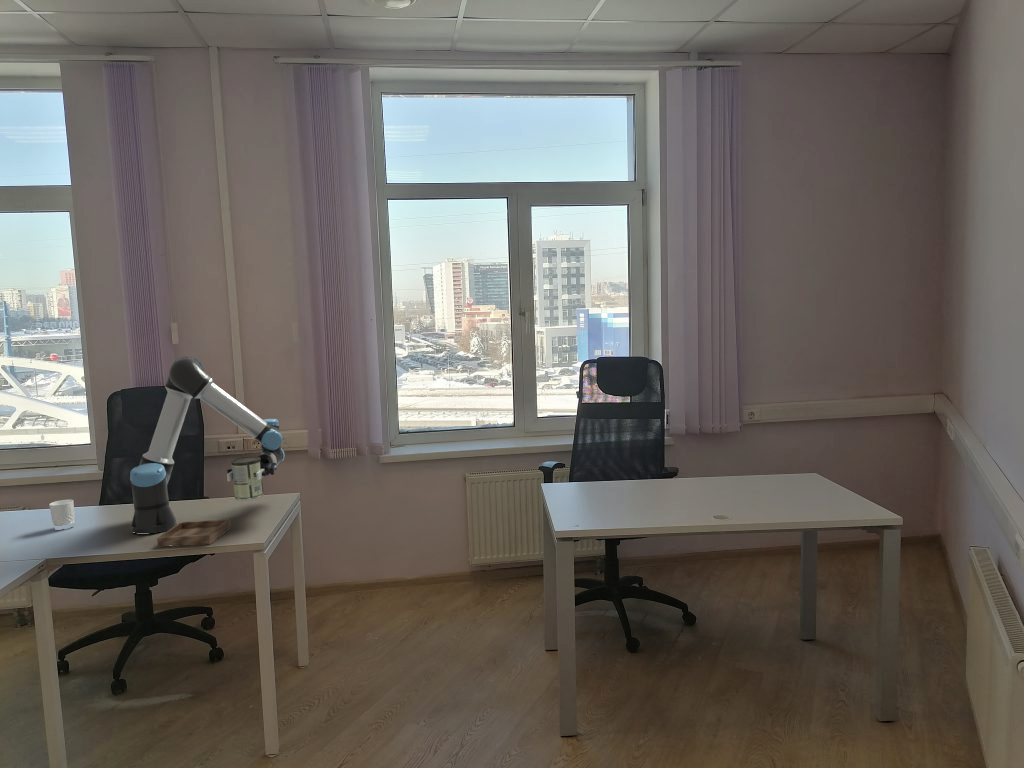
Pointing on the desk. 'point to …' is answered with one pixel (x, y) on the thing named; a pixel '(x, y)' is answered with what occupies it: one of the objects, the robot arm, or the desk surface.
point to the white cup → (62, 512)
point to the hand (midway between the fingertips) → (242, 477)
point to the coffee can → (247, 478)
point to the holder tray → (194, 533)
